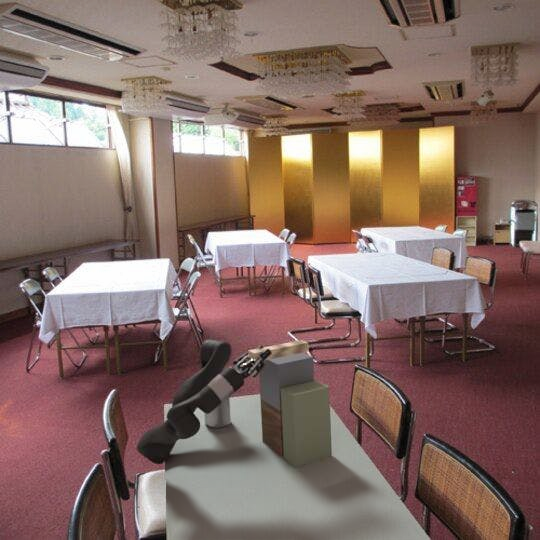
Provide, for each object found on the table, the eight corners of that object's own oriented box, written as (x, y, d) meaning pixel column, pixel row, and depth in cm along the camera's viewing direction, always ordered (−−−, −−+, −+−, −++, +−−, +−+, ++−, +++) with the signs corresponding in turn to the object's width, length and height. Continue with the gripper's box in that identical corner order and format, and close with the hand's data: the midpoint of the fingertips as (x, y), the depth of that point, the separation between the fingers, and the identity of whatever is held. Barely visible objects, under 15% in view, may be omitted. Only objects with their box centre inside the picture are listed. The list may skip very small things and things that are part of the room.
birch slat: (254, 362, 178) (254, 353, 177) (248, 359, 181) (248, 350, 181) (308, 351, 187) (308, 342, 187) (302, 348, 191) (301, 340, 190)
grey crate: (280, 410, 190) (278, 364, 188) (260, 398, 202) (258, 355, 200) (315, 401, 197) (313, 357, 195) (294, 390, 209) (292, 348, 207)
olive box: (296, 466, 184) (293, 395, 181) (283, 457, 191) (280, 388, 188) (331, 455, 191) (329, 386, 188) (318, 446, 198) (315, 380, 195)
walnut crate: (282, 456, 192) (280, 410, 190) (262, 441, 204) (260, 398, 202) (316, 445, 199) (315, 401, 197) (295, 432, 211) (294, 390, 209)
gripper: (222, 386, 183) (261, 352, 189) (241, 399, 171) (283, 363, 177) (210, 369, 181) (250, 335, 187) (229, 381, 168) (271, 344, 174)
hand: (266, 349), depth 182 cm, fingers closed on birch slat, 4 cm apart
